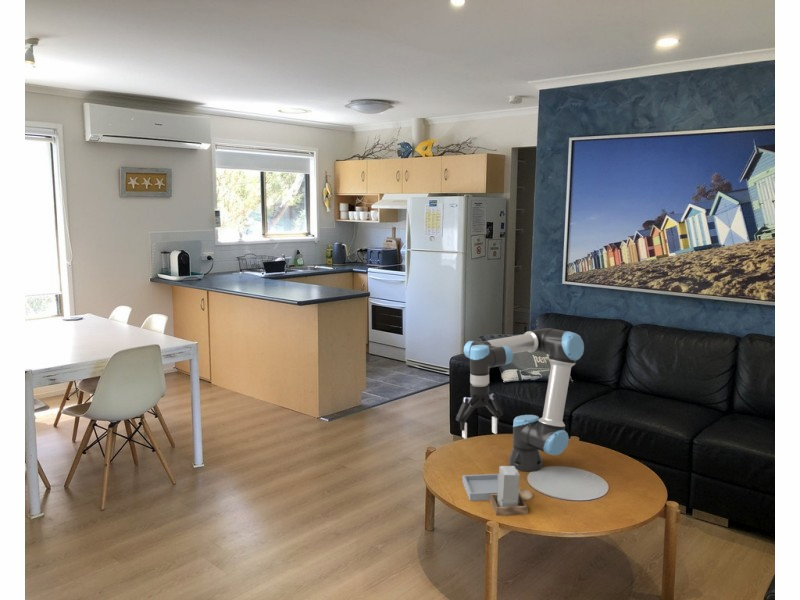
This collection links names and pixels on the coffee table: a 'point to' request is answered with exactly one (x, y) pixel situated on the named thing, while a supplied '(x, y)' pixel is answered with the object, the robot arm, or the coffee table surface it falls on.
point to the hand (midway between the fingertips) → (479, 435)
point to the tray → (480, 486)
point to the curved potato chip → (525, 494)
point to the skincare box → (508, 486)
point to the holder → (508, 510)
